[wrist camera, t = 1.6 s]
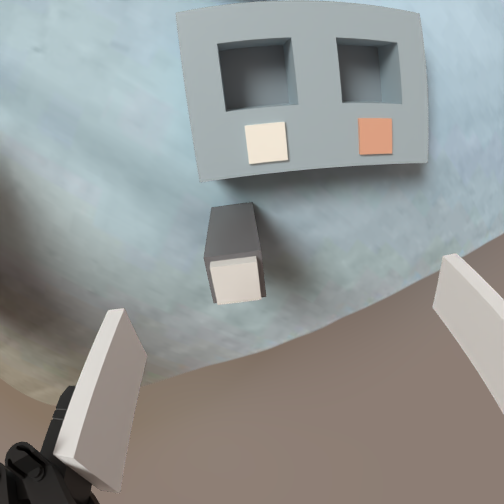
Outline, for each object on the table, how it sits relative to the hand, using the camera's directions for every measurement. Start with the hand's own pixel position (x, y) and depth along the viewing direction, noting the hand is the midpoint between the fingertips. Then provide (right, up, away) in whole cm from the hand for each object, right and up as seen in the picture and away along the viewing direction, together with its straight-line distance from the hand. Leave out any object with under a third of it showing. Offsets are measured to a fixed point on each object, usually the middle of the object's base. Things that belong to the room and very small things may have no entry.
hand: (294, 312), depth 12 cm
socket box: (+3, +17, +13) cm, 22 cm away
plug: (-3, +5, +20) cm, 21 cm away
